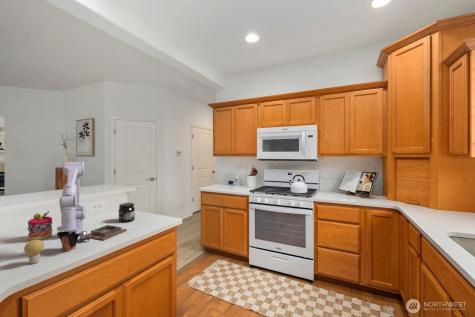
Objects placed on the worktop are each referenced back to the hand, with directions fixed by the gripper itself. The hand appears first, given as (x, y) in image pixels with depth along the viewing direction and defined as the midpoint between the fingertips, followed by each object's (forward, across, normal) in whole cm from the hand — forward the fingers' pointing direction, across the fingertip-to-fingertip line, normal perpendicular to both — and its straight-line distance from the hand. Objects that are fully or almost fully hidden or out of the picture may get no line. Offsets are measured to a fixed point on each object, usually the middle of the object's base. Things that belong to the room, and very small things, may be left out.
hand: (69, 245), depth 109 cm
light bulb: (+2, -1, -14) cm, 14 cm away
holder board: (+2, -1, +22) cm, 22 cm away
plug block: (+2, 0, 0) cm, 2 cm away
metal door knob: (+2, -4, +10) cm, 11 cm away
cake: (+2, -31, +5) cm, 32 cm away
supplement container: (+2, -10, +46) cm, 47 cm away
